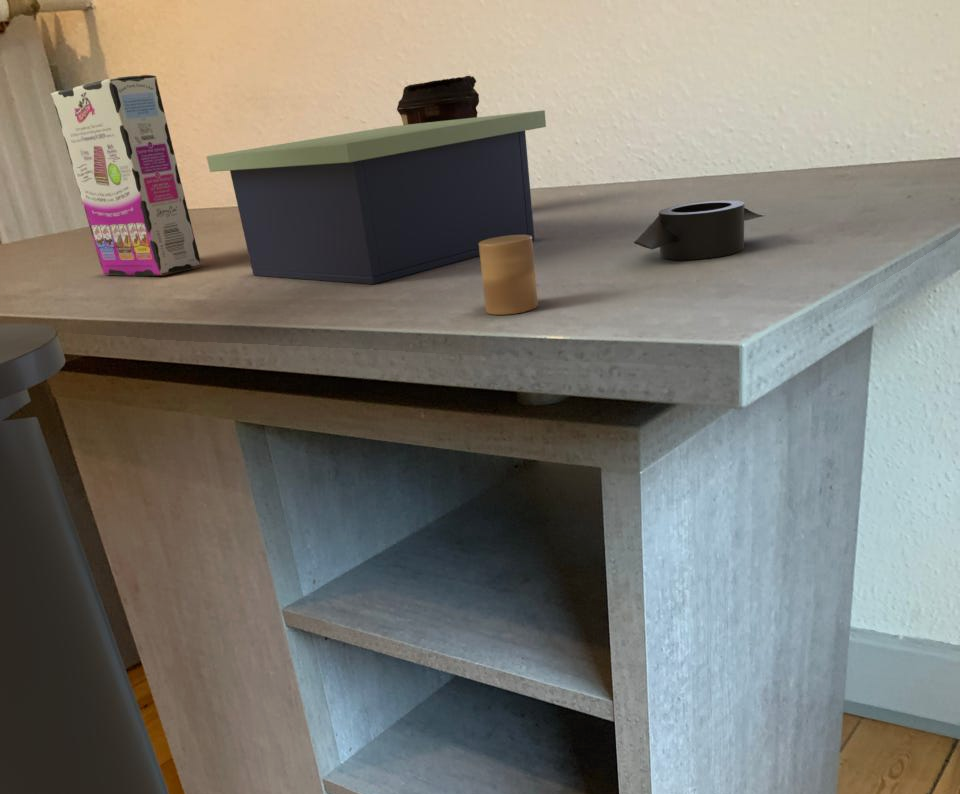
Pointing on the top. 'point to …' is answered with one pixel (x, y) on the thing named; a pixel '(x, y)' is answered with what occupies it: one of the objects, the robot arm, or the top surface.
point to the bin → (385, 211)
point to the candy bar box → (128, 176)
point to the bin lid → (376, 142)
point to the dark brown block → (439, 101)
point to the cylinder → (508, 274)
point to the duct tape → (698, 230)
